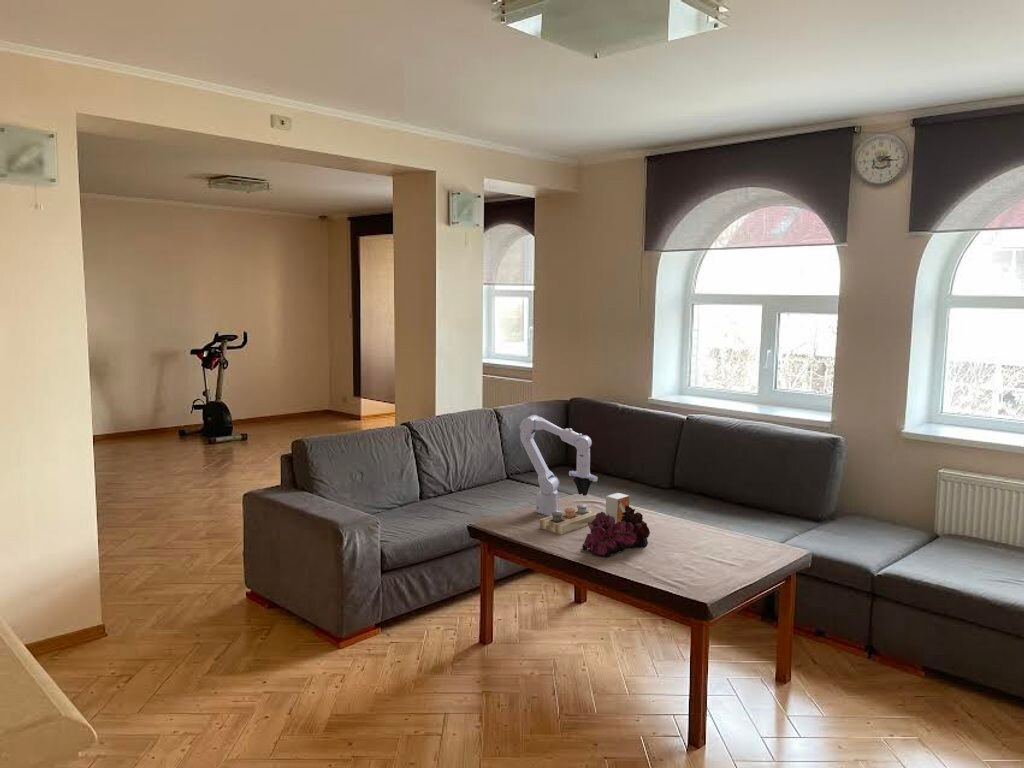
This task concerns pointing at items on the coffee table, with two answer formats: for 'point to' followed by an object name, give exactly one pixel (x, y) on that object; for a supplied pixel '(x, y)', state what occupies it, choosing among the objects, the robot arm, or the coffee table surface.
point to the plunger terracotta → (569, 513)
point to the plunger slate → (581, 509)
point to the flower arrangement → (616, 533)
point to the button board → (567, 522)
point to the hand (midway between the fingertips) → (582, 494)
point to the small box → (616, 505)
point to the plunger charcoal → (557, 517)
